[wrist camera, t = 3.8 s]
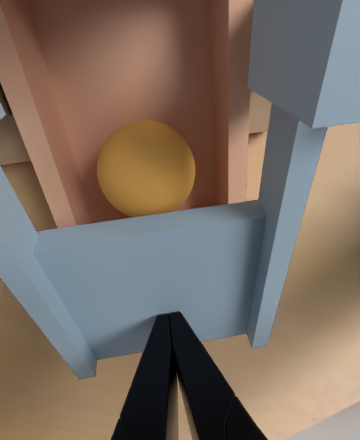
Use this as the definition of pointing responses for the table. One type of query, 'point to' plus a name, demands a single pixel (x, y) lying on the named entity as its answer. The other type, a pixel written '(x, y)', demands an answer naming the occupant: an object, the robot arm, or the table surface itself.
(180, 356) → the robot arm
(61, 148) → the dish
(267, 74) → the lever
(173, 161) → the ball
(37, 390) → the table surface
